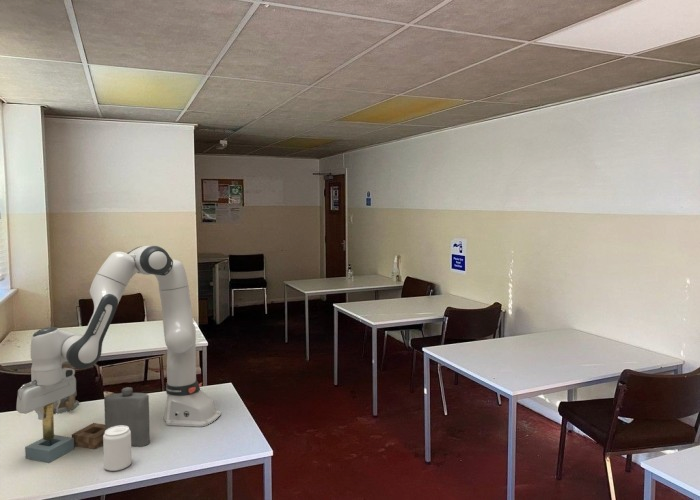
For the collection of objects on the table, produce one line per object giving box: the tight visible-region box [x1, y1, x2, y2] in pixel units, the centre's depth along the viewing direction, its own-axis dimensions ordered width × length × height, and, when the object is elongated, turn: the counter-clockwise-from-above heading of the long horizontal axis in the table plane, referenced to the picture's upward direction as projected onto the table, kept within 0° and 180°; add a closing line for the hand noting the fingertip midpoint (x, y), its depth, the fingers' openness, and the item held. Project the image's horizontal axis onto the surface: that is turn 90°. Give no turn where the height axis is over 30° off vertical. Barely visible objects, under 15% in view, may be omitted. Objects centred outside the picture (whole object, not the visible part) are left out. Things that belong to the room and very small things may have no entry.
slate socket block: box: [24, 434, 75, 464], centre depth 167 cm, size 10×10×4 cm
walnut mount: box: [71, 422, 105, 450], centre depth 176 cm, size 10×10×4 cm
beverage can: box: [102, 425, 133, 472], centre depth 159 cm, size 8×8×12 cm
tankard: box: [53, 374, 80, 414], centre depth 204 cm, size 20×13×15 cm, turn 50°
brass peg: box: [42, 403, 55, 440], centre depth 166 cm, size 3×3×12 cm
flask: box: [103, 386, 151, 448], centre depth 174 cm, size 15×6×20 cm, turn 93°
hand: (48, 416), depth 166 cm, fingers closed on brass peg, 3 cm apart
